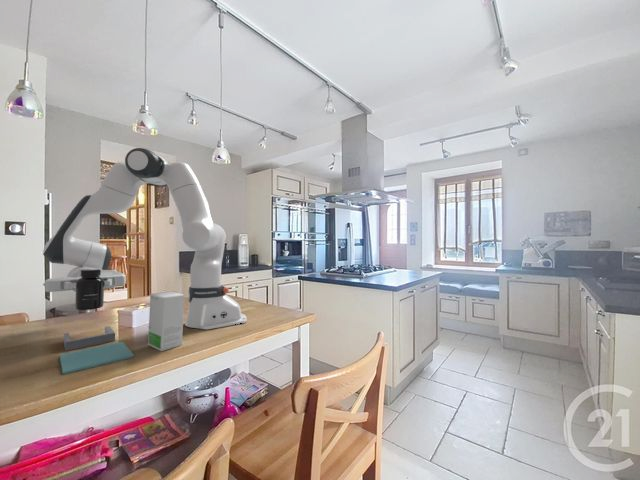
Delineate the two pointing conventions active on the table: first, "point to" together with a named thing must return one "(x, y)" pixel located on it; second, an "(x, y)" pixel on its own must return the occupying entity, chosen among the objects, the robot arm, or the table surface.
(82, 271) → the supplement bottle
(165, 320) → the skincare box
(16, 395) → the table surface
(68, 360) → the mat
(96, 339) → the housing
